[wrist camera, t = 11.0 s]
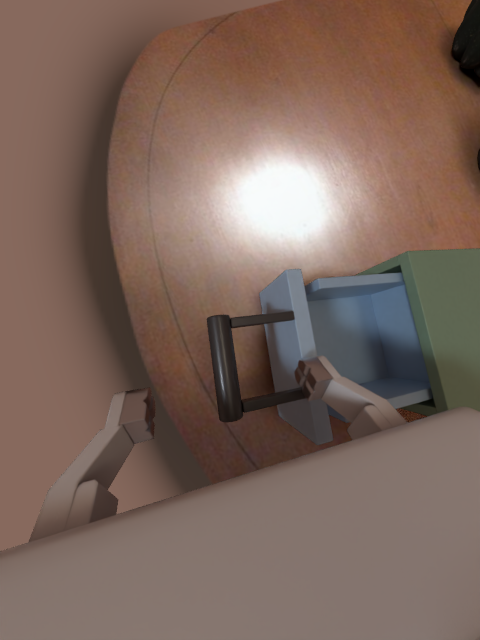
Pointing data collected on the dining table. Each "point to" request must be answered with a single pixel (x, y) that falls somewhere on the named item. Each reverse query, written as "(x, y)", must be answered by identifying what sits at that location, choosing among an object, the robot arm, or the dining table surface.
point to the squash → (469, 39)
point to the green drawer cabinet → (444, 322)
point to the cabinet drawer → (325, 346)
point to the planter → (479, 159)
